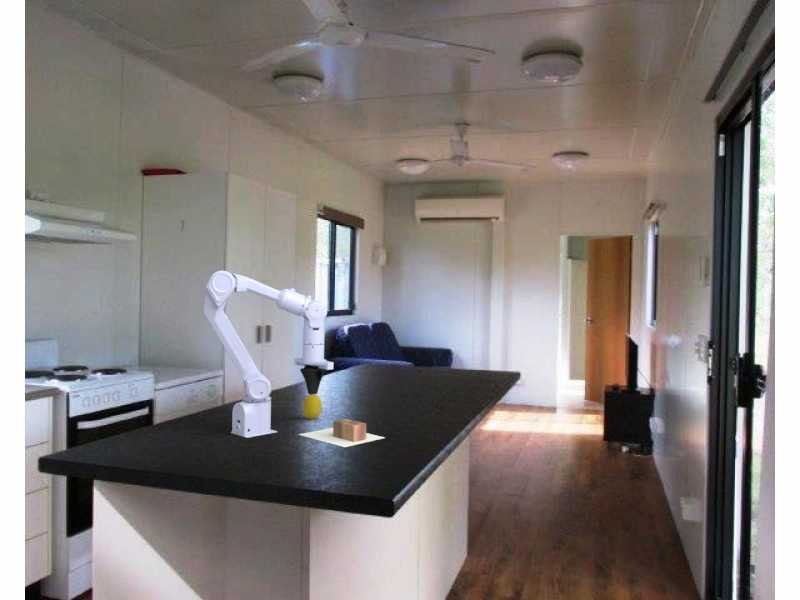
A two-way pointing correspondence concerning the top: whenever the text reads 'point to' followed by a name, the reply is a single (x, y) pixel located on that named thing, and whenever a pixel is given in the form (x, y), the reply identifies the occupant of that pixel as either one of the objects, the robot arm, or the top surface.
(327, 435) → the mat
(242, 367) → the robot arm
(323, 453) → the top surface
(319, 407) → the lemon
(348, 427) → the walnut block
